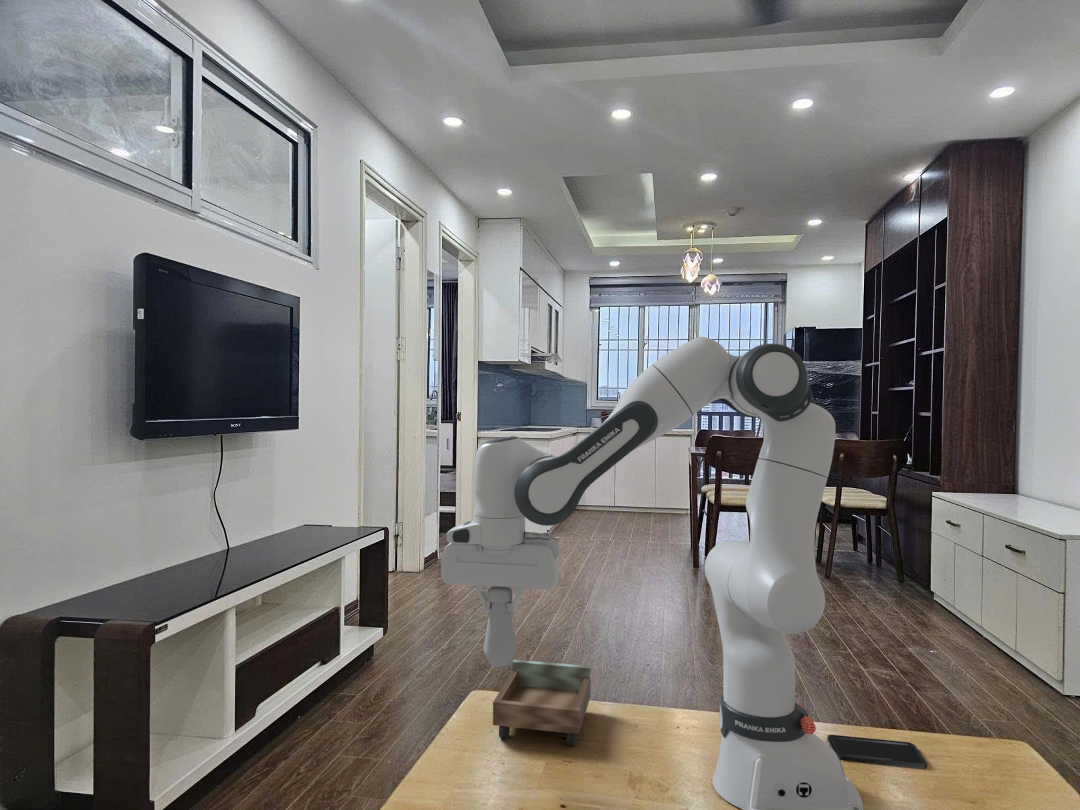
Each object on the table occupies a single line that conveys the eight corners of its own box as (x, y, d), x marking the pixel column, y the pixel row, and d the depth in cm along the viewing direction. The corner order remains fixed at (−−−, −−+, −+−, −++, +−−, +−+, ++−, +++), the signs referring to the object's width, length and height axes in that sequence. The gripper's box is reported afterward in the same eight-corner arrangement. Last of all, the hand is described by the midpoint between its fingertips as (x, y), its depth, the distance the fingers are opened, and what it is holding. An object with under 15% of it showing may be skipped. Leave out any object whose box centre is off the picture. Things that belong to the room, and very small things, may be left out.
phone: (826, 734, 125) (913, 742, 122) (826, 740, 125) (913, 748, 122) (835, 755, 117) (929, 765, 114) (835, 762, 117) (929, 772, 114)
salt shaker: (502, 653, 119) (502, 580, 119) (524, 662, 115) (523, 586, 115) (476, 662, 115) (476, 586, 115) (498, 671, 111) (497, 593, 111)
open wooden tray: (590, 710, 135) (590, 666, 135) (579, 751, 119) (579, 700, 119) (513, 702, 138) (513, 659, 138) (492, 741, 123) (493, 692, 122)
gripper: (562, 529, 116) (562, 609, 116) (450, 525, 120) (450, 602, 120) (555, 537, 110) (556, 621, 110) (437, 532, 114) (438, 613, 114)
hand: (499, 611), depth 115 cm, fingers closed on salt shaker, 3 cm apart
